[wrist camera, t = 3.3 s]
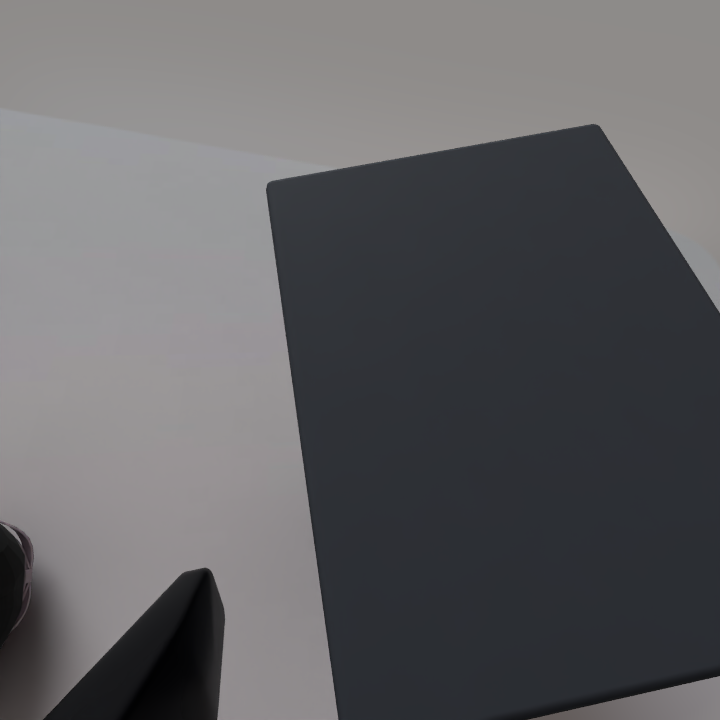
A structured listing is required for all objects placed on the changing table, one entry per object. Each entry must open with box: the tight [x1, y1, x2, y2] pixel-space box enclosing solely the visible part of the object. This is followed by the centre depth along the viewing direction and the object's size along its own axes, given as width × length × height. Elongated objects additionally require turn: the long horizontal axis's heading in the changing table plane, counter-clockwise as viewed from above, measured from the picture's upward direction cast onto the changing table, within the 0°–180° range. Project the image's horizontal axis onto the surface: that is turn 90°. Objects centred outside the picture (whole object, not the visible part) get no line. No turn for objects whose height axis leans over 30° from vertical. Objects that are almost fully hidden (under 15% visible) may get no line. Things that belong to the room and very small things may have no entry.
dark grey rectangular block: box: [266, 124, 720, 720], centre depth 11 cm, size 6×4×13 cm
